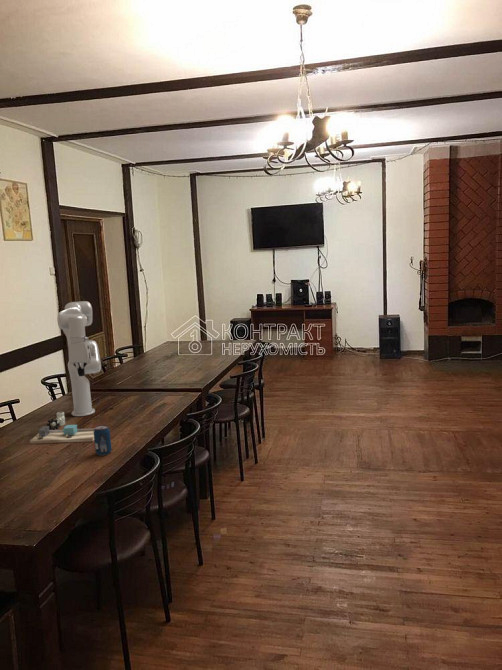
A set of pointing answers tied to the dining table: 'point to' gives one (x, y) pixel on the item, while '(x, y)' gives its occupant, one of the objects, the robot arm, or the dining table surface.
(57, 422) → the valve
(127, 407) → the dining table surface
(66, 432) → the sliding block
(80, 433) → the board
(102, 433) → the soda can
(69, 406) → the dining table surface
